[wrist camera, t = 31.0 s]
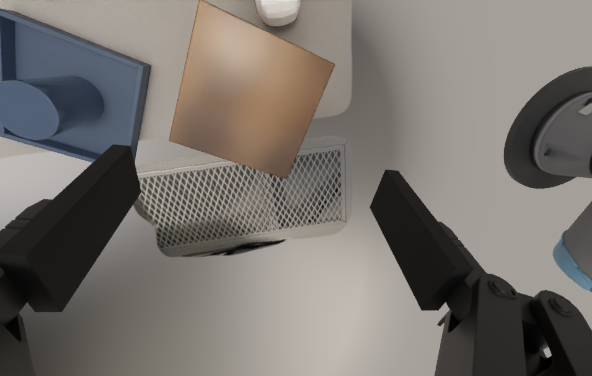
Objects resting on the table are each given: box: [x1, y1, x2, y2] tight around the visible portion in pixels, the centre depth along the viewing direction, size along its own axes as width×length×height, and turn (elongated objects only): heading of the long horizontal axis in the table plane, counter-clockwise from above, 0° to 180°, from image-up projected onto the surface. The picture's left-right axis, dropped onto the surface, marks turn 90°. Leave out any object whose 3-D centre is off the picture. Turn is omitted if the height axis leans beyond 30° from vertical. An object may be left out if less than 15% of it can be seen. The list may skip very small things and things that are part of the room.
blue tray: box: [0, 9, 151, 163], centre depth 34 cm, size 15×15×2 cm
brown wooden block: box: [169, 0, 335, 179], centre depth 30 cm, size 12×12×15 cm
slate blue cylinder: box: [0, 75, 104, 140], centre depth 31 cm, size 6×6×9 cm
